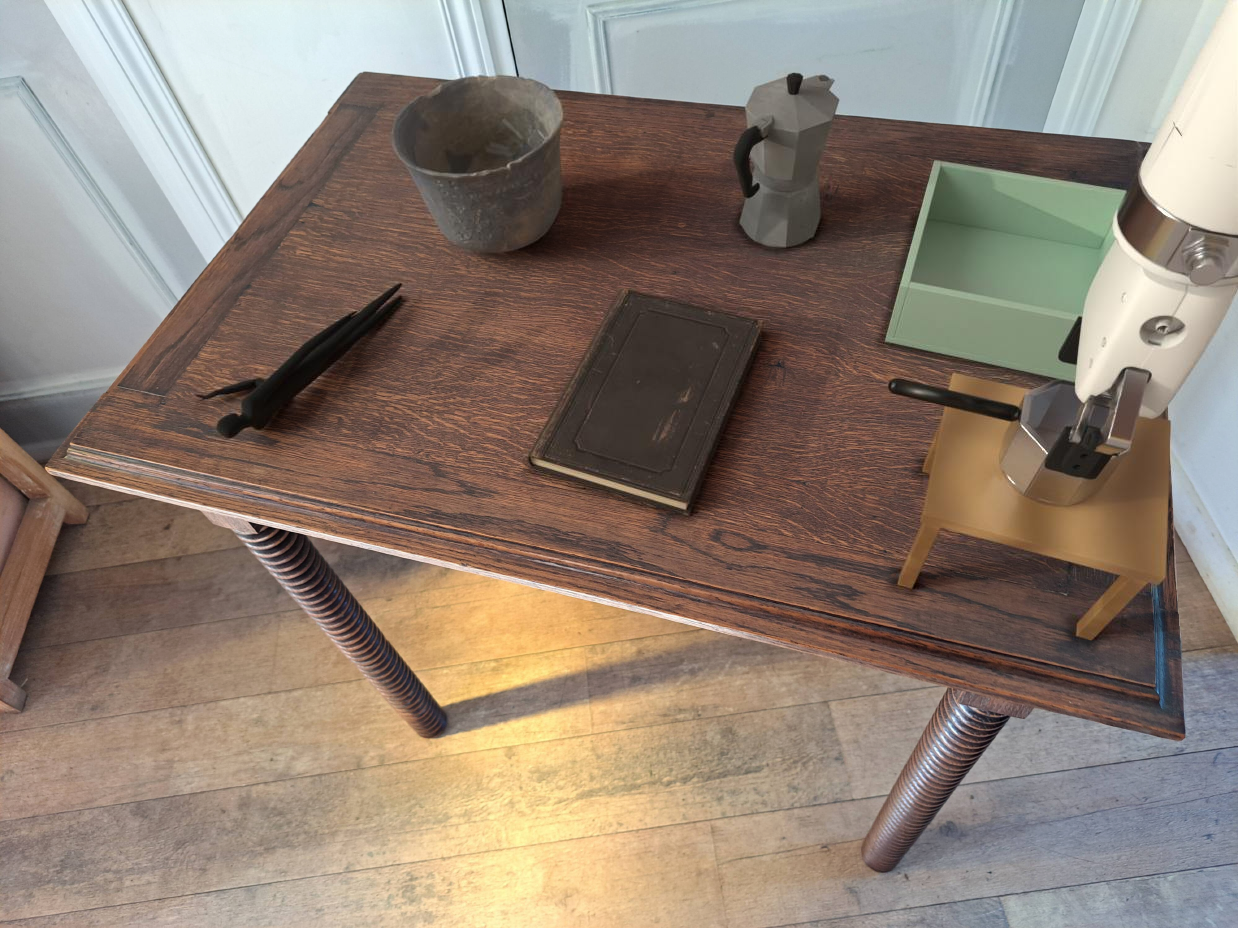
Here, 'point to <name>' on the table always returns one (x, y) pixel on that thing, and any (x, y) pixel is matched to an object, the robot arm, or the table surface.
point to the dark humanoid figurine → (301, 367)
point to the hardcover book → (649, 400)
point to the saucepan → (1028, 436)
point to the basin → (1002, 266)
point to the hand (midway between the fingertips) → (1074, 414)
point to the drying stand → (1082, 533)
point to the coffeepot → (784, 158)
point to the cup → (485, 159)
